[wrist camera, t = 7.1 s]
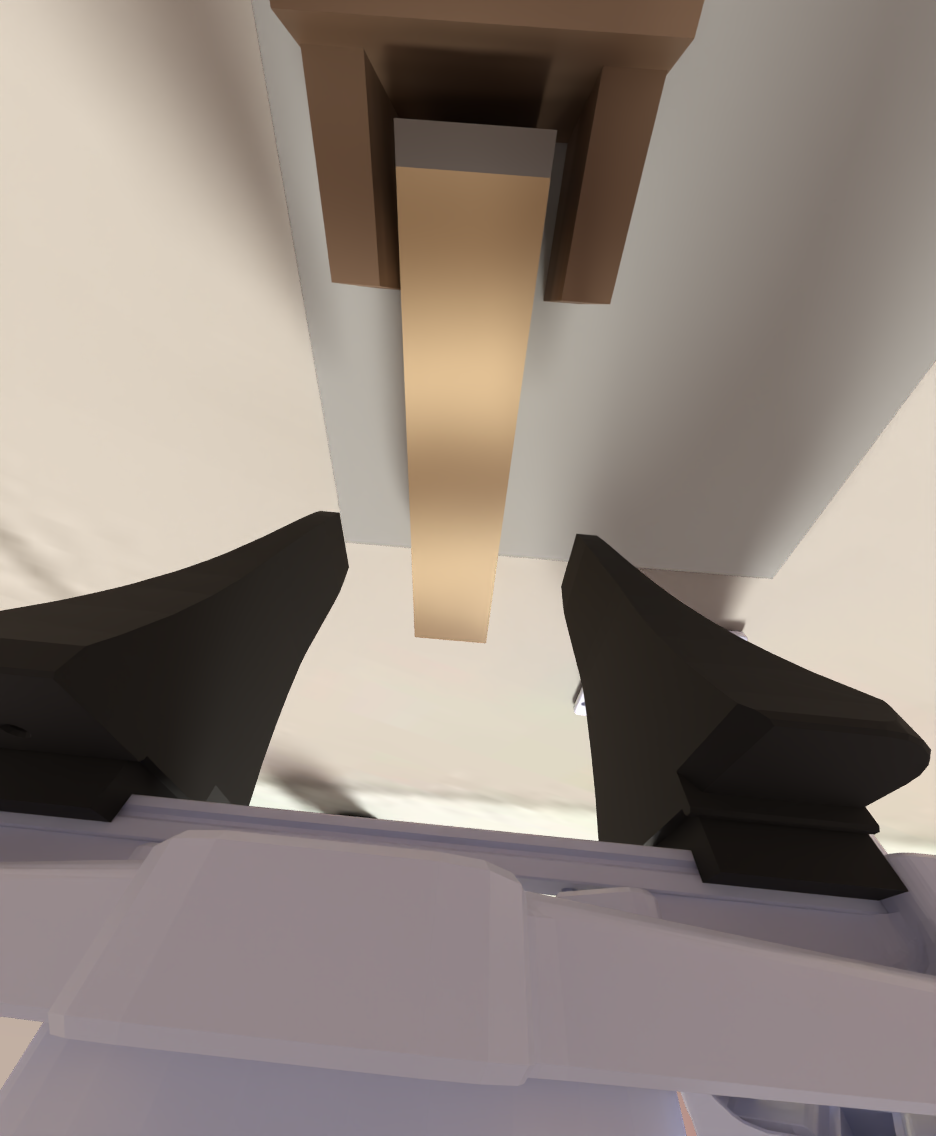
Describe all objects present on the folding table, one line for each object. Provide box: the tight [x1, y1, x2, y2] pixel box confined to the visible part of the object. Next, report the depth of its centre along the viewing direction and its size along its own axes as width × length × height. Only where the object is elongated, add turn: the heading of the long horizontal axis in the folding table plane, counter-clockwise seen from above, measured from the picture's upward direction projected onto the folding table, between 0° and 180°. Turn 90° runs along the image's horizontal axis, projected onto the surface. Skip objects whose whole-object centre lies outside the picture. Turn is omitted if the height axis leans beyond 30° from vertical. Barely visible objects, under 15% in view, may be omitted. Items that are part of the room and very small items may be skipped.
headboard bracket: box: [269, 0, 705, 304], centre depth 8 cm, size 6×7×5 cm
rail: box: [394, 118, 557, 643], centre depth 13 cm, size 14×3×5 cm, turn 176°
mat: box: [252, 0, 936, 579], centre depth 13 cm, size 18×22×1 cm
